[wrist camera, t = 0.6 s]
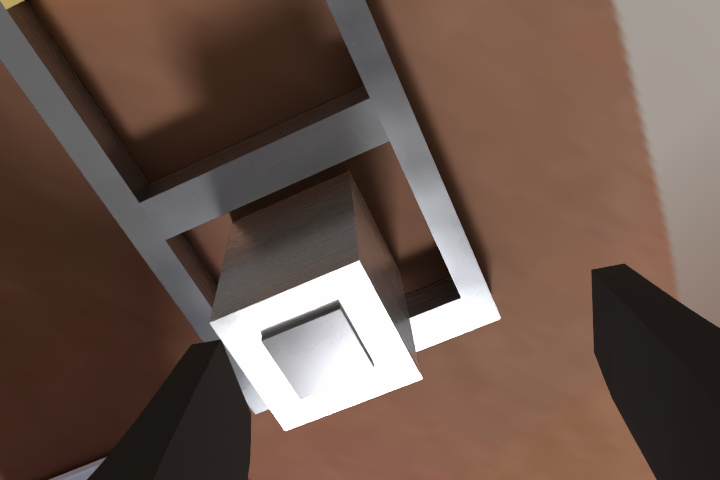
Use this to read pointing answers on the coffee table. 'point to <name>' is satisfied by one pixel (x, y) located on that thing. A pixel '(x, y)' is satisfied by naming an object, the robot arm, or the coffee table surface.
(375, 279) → the block
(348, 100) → the yellow grey ladder frame
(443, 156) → the coffee table surface
